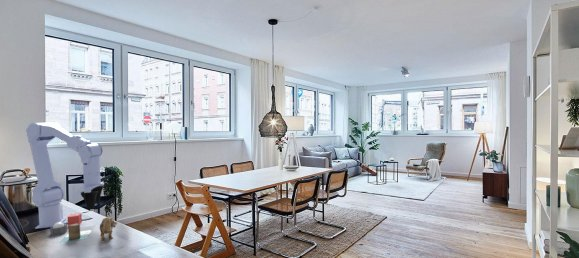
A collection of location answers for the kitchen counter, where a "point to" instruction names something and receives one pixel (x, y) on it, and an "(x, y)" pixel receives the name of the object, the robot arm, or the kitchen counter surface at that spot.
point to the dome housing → (58, 230)
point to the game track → (83, 233)
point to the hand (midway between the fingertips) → (93, 205)
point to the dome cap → (58, 225)
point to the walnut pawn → (74, 231)
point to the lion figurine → (107, 227)
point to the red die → (74, 219)
